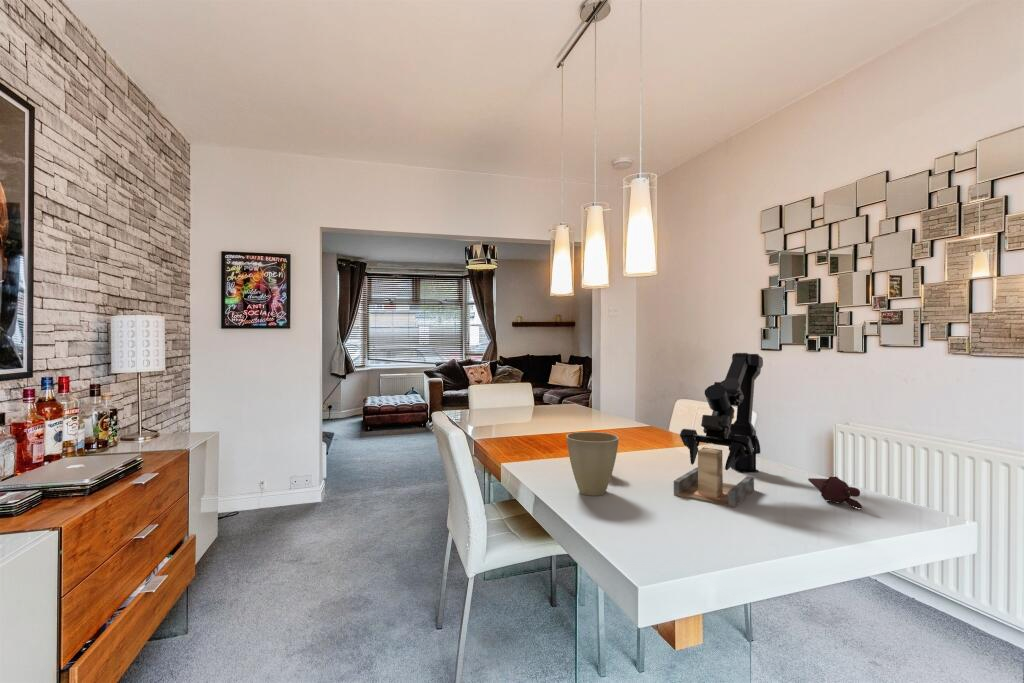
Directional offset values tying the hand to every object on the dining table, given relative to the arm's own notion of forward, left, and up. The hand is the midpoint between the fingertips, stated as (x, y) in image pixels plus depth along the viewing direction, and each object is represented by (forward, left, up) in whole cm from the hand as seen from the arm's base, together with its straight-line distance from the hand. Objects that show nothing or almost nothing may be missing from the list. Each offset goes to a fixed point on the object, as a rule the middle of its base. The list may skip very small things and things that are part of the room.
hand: (708, 466), depth 130 cm
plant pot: (+31, -6, -9) cm, 33 cm away
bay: (-3, -4, -8) cm, 10 cm away
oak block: (-1, -1, -8) cm, 8 cm away
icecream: (-31, +5, -9) cm, 33 cm away
